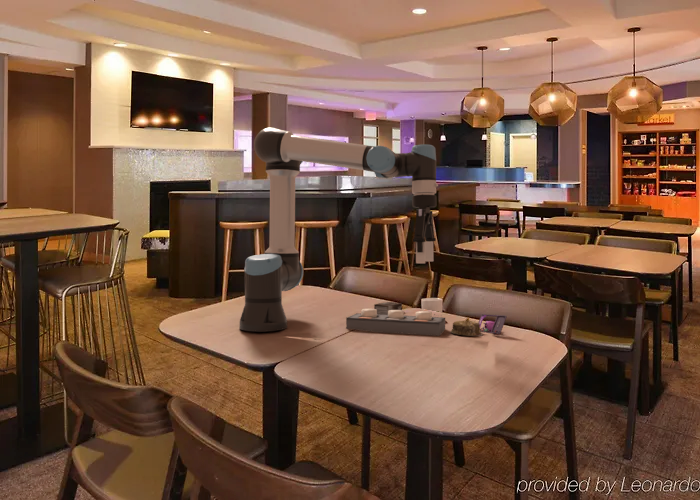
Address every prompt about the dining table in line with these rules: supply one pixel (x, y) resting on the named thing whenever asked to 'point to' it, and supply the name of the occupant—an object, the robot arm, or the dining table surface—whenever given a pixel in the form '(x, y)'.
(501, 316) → the purple toy box
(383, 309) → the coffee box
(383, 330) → the console
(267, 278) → the robot arm
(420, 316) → the button right
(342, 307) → the dining table surface
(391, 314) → the button middle
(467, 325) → the beige textured round piece
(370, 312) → the button left
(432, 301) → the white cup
